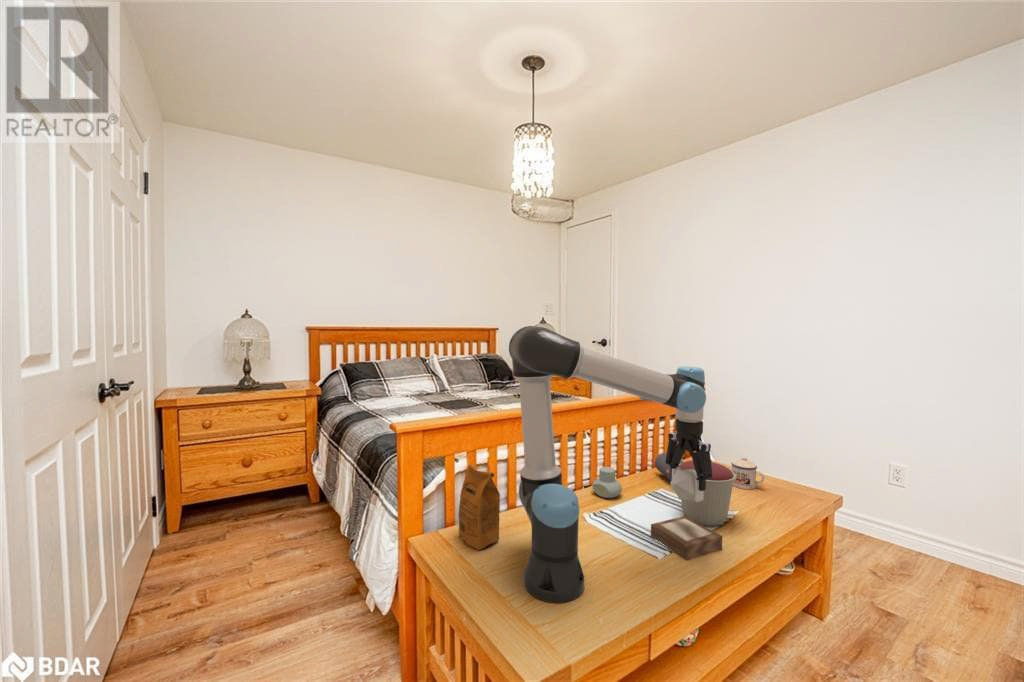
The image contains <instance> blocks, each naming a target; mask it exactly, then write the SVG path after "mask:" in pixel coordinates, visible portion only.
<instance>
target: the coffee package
mask: <svg viewBox="0 0 1024 682" xmlns="http://www.w3.org/2000/svg"><path fill="white" fill-rule="evenodd" d="M494 477H495V474H494V472H489V471H483V470H482V471H481V470H477V468H476V466H475V465H474V464H473V463H469V464H468V468H467V470H466V473H465V476H464V480H463V482H462V486H461V489H460V497H459V507H458V513H457V515H458V538H459V539H461V540H463V541H464V542H465V544H466V545H467V546H468V547H471V548H474V549H475V550H479V551H480V550H483V549H484V548H487V546H490V545H491V544H494V543H496V542H497V541H499V539H500V513H501V511H500V509H501V507H500V506H501V505H500V501H501V498H500V497H501V494H500V491H499V490H498V487H497V486H496V484H495V482H494V480H493V478H494Z"/></svg>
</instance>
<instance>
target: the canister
mask: <svg viewBox="0 0 1024 682" xmlns="http://www.w3.org/2000/svg"><path fill="white" fill-rule="evenodd" d="M679 466H680V467H677V468H681V469H685V470H695V467H694V463H693V460H687V461H686V460H685V461H683V463H681V464H679ZM711 468H712V479H708V480H706V489H705V491H704V496H703V500H702V501H698V502H696V501H694V500H683V499H680V503H681V509H682V513H683V516H686V517H688V518H690V519H692V520H693V521H695V522H697V523H699V524H701V525H703V526H705V527H706V526H708V527H715V526H720V525H722V524H723V523H725V522H726V520H727V518H728V513H729V509H730V504H731V503H730V502H731V497H732V491H733V487H734V486H733V480H734V479H735V478H736V474H735V473H734V472H733V471H732V469H730V468H729V467H727V466H724V465H723V464H721V463H716V462H713V461H712V460H711ZM695 471H696V470H695ZM701 475H702V474H701Z"/></svg>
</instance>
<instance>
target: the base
mask: <svg viewBox="0 0 1024 682" xmlns="http://www.w3.org/2000/svg"><path fill="white" fill-rule="evenodd" d="M651 536H652V537H653V538H655V539H656V540H658V541H660V542H661V543H662V544H664V545H665V546H667V547H668V548H669V549H668V548H667V547H666V548H667V549H668V550H670V549H671V550H672V551H671V550H670V551H671V552H673V553H675V554H676V555H677V556H679V557H680V558H682V559H684V560H685V561H689V560H693V559H696V558H700V557H702V556H705V555H709V554H712V553H714V552H715V553H716V552H718V551H721V550H723V535H721V534H719V533H717V532H716V531H714V530H712V529H710V528H708V527H706V525H701V524H699V523H697V522H695V521H693V520H692V519H690V518H688V517H686V516H685V515H683V516H678V517H675V518H670V519H666V520H663V521H659V522H655V523H651V524H650V537H651ZM652 537H651V538H652ZM653 538H652V539H653ZM655 539H654V540H655ZM656 540H655V541H656ZM658 541H657V542H658ZM661 543H660V544H661ZM662 544H661V545H662ZM664 545H663V546H664ZM665 546H664V547H665Z"/></svg>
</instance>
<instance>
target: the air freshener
mask: <svg viewBox="0 0 1024 682" xmlns="http://www.w3.org/2000/svg"><path fill="white" fill-rule="evenodd" d="M598 472H599V475H598V478H597V479H595V480H594V481H593V483H592V484H591V485H592V487H591V488H592V490H593V492H594V493H595V494H597V495H598V496H599V497H601V498H603V499H604V498H605V499H612V498H616V497H618V496H619V495H621V493H622V491H623V487H622V484H621V482H619V481H618V480H617V479H616V469H615V468H613V467H610V466H601V467H600V468H599V471H598Z"/></svg>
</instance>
